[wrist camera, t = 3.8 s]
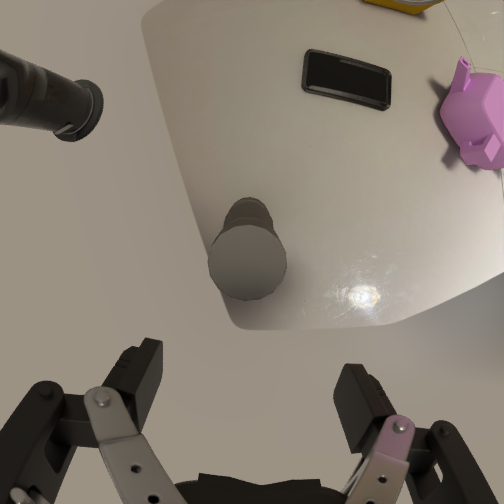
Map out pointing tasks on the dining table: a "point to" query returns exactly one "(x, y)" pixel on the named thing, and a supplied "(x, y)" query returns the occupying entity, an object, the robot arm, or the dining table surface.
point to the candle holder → (247, 253)
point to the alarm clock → (406, 4)
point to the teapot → (476, 116)
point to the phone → (346, 79)
